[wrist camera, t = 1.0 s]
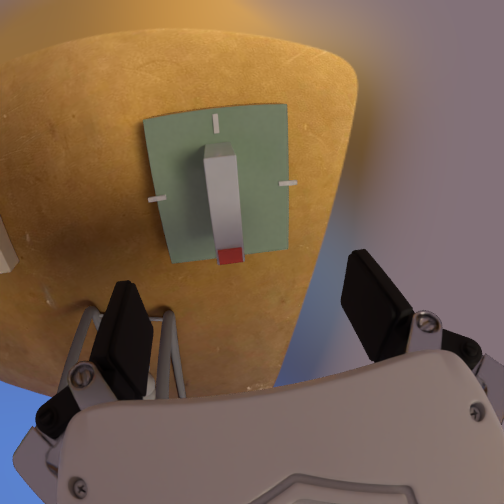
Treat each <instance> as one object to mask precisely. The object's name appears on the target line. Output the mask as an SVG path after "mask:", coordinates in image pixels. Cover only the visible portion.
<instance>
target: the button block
mask: <svg viewBox="0 0 504 504" xmlns="http://www.w3.org/2000/svg"><path fill="white" fill-rule="evenodd" d="M18 262H19V259H18V257H17V255H16V253H15V250H14V248H13V246H12V244H11V241H10V239H9V237H8V234H7V232H6V229H5V227H4V224H3V221H2V219H1V216H0V274H1V273H7V272H11V271H12V270H13V269H14V267H15V266H16V265H17V263H18Z"/></svg>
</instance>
